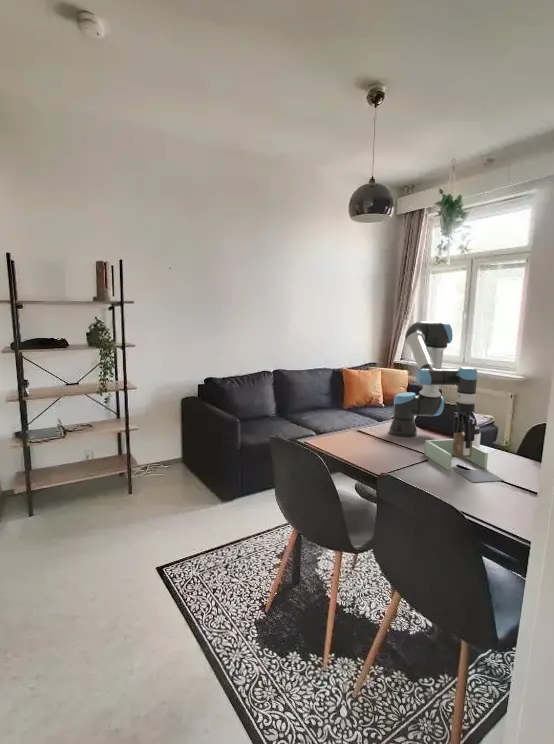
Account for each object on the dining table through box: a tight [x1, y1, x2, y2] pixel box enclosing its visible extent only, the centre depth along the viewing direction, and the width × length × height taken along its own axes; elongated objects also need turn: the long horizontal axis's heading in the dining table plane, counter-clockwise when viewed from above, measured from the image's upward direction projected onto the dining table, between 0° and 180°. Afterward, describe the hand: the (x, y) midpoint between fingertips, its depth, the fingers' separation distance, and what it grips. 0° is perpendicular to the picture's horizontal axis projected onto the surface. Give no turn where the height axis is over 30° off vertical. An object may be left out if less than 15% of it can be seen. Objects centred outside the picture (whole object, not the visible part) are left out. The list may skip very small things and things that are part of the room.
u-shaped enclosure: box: [423, 438, 489, 471], centre depth 189 cm, size 21×18×7 cm
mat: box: [455, 468, 505, 484], centre depth 171 cm, size 12×14×1 cm
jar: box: [462, 425, 482, 449], centre depth 204 cm, size 9×8×12 cm
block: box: [452, 432, 472, 459], centre depth 183 cm, size 5×6×10 cm
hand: (462, 452), depth 183 cm, fingers closed on block, 5 cm apart
